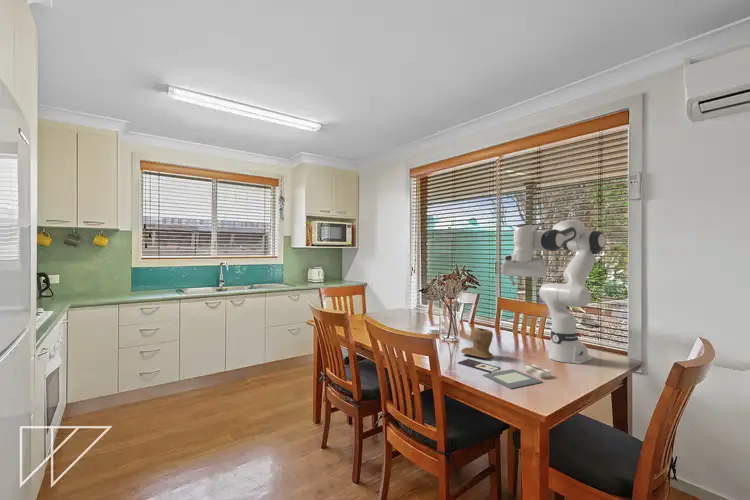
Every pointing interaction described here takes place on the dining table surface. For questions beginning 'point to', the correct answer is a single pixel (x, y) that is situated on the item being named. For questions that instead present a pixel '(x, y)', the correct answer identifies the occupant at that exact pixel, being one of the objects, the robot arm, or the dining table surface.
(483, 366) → the chocolate bar
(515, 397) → the dining table surface
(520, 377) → the mat
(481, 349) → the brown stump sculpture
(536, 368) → the cream block
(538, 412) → the dining table surface
